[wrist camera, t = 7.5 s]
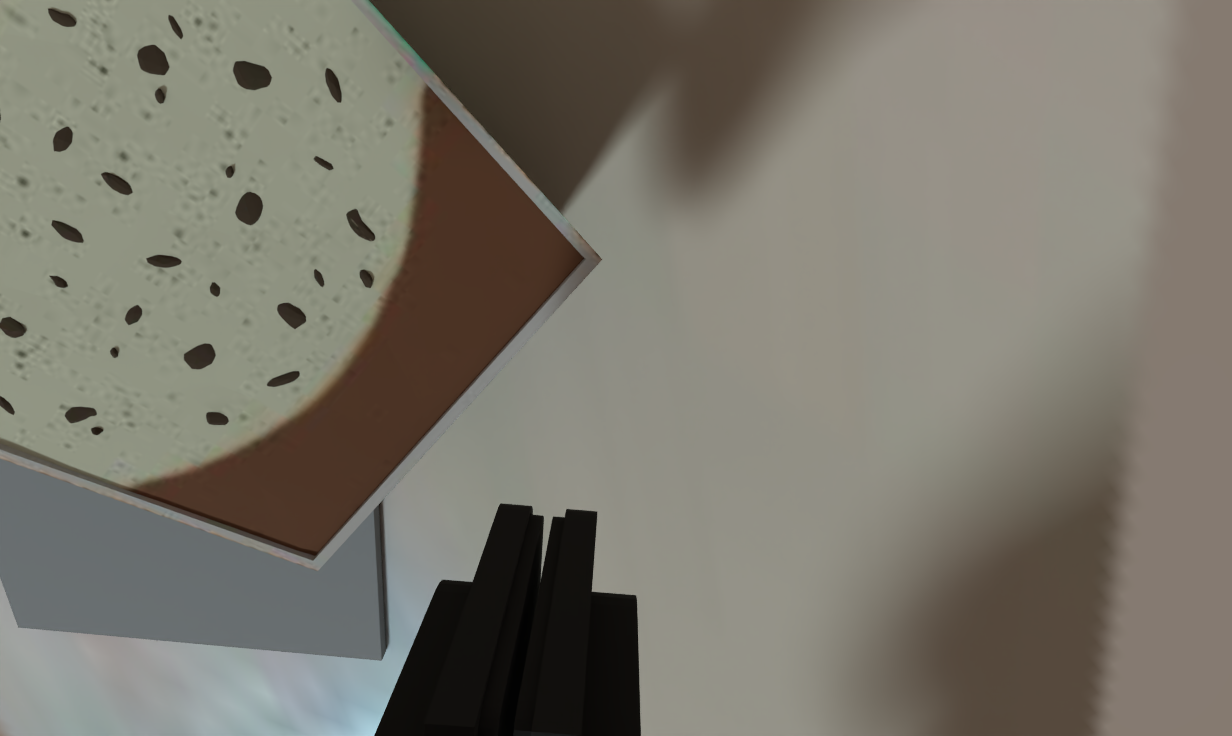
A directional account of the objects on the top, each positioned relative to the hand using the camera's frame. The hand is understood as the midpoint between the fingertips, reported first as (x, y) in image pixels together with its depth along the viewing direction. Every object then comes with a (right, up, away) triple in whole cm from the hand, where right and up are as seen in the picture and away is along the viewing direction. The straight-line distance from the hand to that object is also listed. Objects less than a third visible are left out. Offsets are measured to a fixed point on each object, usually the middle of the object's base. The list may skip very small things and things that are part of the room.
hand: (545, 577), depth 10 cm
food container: (-3, +4, +5) cm, 6 cm away
